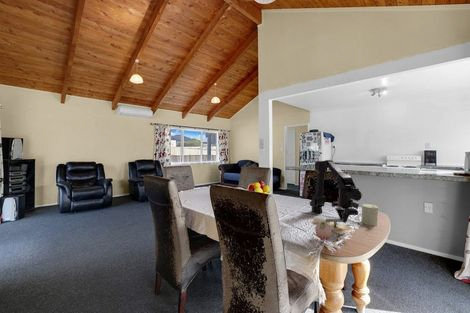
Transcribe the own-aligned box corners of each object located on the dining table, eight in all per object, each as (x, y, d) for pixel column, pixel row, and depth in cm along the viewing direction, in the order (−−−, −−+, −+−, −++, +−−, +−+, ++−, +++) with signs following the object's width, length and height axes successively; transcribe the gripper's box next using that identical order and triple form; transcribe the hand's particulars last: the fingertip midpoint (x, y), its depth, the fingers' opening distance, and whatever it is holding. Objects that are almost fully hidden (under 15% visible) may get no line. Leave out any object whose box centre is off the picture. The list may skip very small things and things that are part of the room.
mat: (292, 226, 138) (292, 225, 138) (302, 222, 144) (302, 222, 144) (305, 231, 130) (305, 231, 130) (315, 227, 136) (315, 227, 136)
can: (369, 226, 140) (370, 207, 139) (357, 221, 149) (358, 203, 148) (380, 224, 142) (381, 206, 141) (368, 219, 151) (369, 202, 150)
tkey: (326, 227, 133) (327, 219, 133) (325, 226, 135) (325, 218, 135) (345, 227, 133) (346, 220, 132) (344, 226, 135) (344, 218, 135)
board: (308, 224, 141) (308, 222, 141) (321, 220, 150) (321, 217, 149) (341, 236, 124) (341, 234, 124) (354, 231, 132) (354, 228, 132)
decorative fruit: (332, 244, 114) (333, 226, 114) (315, 242, 116) (316, 224, 116) (329, 237, 123) (330, 219, 123) (314, 235, 125) (315, 218, 125)
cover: (313, 221, 143) (313, 216, 143) (319, 219, 146) (319, 215, 146) (324, 225, 136) (325, 220, 136) (330, 223, 140) (330, 218, 140)
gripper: (367, 200, 124) (366, 227, 125) (347, 193, 143) (346, 216, 144) (348, 200, 123) (347, 227, 124) (331, 193, 142) (330, 216, 143)
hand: (343, 221), depth 134 cm, fingers open, 3 cm apart
